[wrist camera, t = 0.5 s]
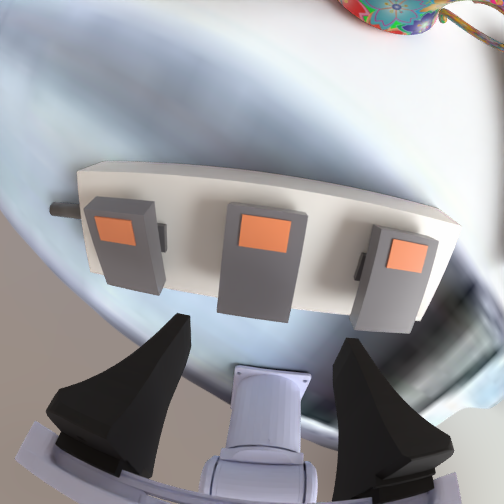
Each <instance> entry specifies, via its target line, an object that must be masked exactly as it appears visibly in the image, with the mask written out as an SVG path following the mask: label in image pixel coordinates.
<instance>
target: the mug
mask: <svg viewBox="0 0 504 504" xmlns="http://www.w3.org/2000/svg"><path fill="white" fill-rule="evenodd" d="M338 1H339V2H340V3H341V4H342V5H343V6H344V7H345V8H346V9H347V10H348V11H349V12H351V13H352V14H353V15H355V16H356V17H358V18H359V19H361V20H362V21H364V22H366V23H368V24H370V25H372V26H374V27H376V28H378V29H381V30H384V31H387V32H390V33H395V34H401V35H414V34H420V33H423V32H425V31H427V30H429V29H430V28H431V27H432V26H433V25H434V24H435V22H436V20H437V18H438V17H439V21H440V22H441V23H445V22H446V21H447V18H448V19H449V20H451V21H452V22H454V23H455V24H456V25H458V26H459V27H460V28H462V29H463V30H465V31H466V32H468V33H469V34H471V35H472V36H474V37H475V38H477V39H478V40H480V41H482V42H483V43H485V44H487V45H489V46H491V47H493V48H495V49H497V50H499V51H501V52H503V53H504V44H502V43H500V42H498V41H496V40H494V39H492V38H490V37H488V36H487V35H485V34H483V33H482V32H480V31H478V30H477V29H475V28H474V27H472V26H471V25H469V24H468V23H466V22H465V21H464V20H462V19H461V18H459V17H458V16H457V15H455V14H454V13H452V12H451V11H449V10H447V9H445V8H443V9H441V8H442V7H444V6H445V5H447V4H450V3H453V2H456V1H463V0H338ZM472 1H473V2H474V3H481V4H485V5H488V6H491V7H493V8H495V9H496V10H498V11H499V12H501V13H502V14H503V15H504V0H472ZM440 9H441V10H440ZM439 10H440V11H439ZM438 13H439V14H438Z"/></svg>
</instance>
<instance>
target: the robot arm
mask: <svg viewBox="0 0 504 504" xmlns="http://www.w3.org/2000/svg"><path fill="white" fill-rule="evenodd" d="M190 349H191V327H190V316H189V315H184V314H180V313H177V314H175V315H174V316H173V317H172V318H171V319H170V320H169V321H168V322H167V323H166V324H165V325H164V326H163V327H162V328H161V329H160V330H159V331H158V332H157V333H156V334H155V335H154V336H153V337H152V338H150V339H149V340H148V341H147V342H146V343H145V344H144V345H142V346H141V347H140V348H139V349H137V350H136V351H135V352H134V353H132V354H131V355H130V356H128V357H127V358H125V359H124V360H122V361H121V362H119V363H118V364H116V365H115V366H113V367H111V368H109V369H107V370H106V371H104V372H103V373H100V374H98V375H96V376H94V377H91V378H89V379H87V380H85V381H82V382H80V383H77V384H74V385H71V386H68V387H65V388H61V389H59V390H58V392H57V393H56V394H55V396H54V398H53V400H52V401H51V403H50V405H49V406H48V408H47V410H46V413H47V416H48V417H49V418H50V419H51V421H52V422H53V423H54V424H55V425H56V426H57V427H58V428H59V429H60V431H61V433H60V435H59V436H58V435H57V434H56V433H54V432H53V431H51V430H50V429H48V428H46V427H45V426H43V425H41V424H40V423H38V422H37V421H35V422H34V423H33V425H32V427H31V429H30V430H29V432H28V434H27V436H26V438H25V439H24V442H23V443H22V445H21V447H20V449H19V451H18V453H17V455H16V457H15V460H16V461H17V462H18V463H20V464H21V465H22V466H23V467H25V468H26V469H27V470H29V471H30V472H31V473H33V474H34V475H36V476H37V477H38V478H40V479H41V480H43V481H44V482H45V483H47V484H48V485H50V486H51V487H53V488H54V489H56V490H57V491H59V492H61V493H62V494H64V495H65V496H67V497H69V498H71V499H72V500H74V501H76V502H77V503H79V504H171V503H168V502H165V501H162V500H159V499H157V498H154V497H151V496H155V497H158V498H161V499H164V500H168V501H171V502H175V503H180V504H462V503H461V497H460V491H459V485H458V480H457V475H456V473H455V472H454V473H451V474H448V475H445V476H442V477H439V478H437V479H435V480H433V477H432V475H434V474H435V473H436V472H435V467H437V466H438V465H440V464H441V463H443V462H444V461H446V460H447V459H448V458H449V457H451V456H452V455H453V453H454V448H453V445H452V441H451V438H450V436H449V435H448V434H446V433H444V432H443V431H441V430H439V429H438V428H436V427H435V426H433V425H432V424H431V423H429V422H428V421H426V420H425V419H424V418H423V417H421V416H420V415H419V414H418V413H417V412H416V411H415V410H413V409H412V408H411V407H410V406H409V405H408V404H407V403H406V402H405V401H404V400H403V399H402V398H401V397H400V395H399V394H398V393H397V392H396V391H395V390H394V389H393V387H392V386H391V385H390V384H389V382H388V381H387V380H386V379H385V377H384V376H383V375H382V373H381V372H380V370H379V369H378V368H377V366H376V365H375V363H374V362H373V360H372V359H371V357H370V356H369V354H368V353H367V351H366V350H365V348H364V347H363V345H362V344H361V342H360V341H359V339H355V338H346V339H345V341H344V343H343V346H342V348H341V350H340V352H339V354H338V356H337V358H336V360H335V362H334V364H333V388H334V396H335V403H336V411H337V418H338V429H339V441H338V463H337V473H336V481H335V487H334V493H333V498H332V502H319V503H316V499H317V486H318V484H317V483H318V481H317V471H316V468H315V467H314V466H313V465H312V464H311V462H309V461H303V455H304V454H303V453H300V432H301V399H302V397H303V394H304V392H305V390H306V388H307V386H308V384H309V382H310V380H311V375H310V374H309V373H299V372H289V371H280V370H271V369H263V368H256V367H249V366H242V365H237V366H236V367H235V371H234V380H233V389H232V398H231V407H230V408H231V409H232V414H231V420H230V425H229V431H228V436H227V442H226V448H222V449H221V453H220V456H213V457H212V458H210V459H209V460H207V462H206V463H205V465H204V467H203V470H202V474H201V479H200V484H199V493H198V492H194V491H189V490H185V489H181V488H177V487H173V486H170V485H166V484H163V483H159V482H156V481H153V480H150V479H149V478H151V477H152V474H153V468H154V463H155V458H156V453H157V449H158V444H159V439H160V435H161V432H162V428H163V424H164V421H165V417H166V413H167V410H168V407H169V404H170V401H171V399H172V397H173V394H174V392H175V389H176V387H177V384H178V382H179V380H180V378H181V375H182V373H183V371H184V368H185V366H186V363H187V359H188V356H189V352H190ZM147 494H148V495H151V496H148V495H147Z"/></svg>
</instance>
